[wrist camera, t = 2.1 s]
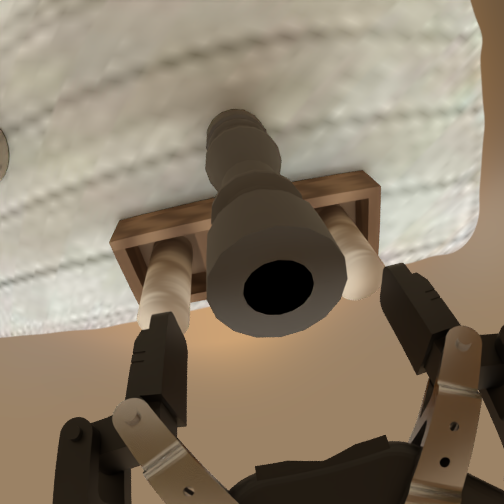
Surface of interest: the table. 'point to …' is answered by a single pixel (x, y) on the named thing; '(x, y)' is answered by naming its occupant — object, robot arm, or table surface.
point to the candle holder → (264, 237)
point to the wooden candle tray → (195, 245)
